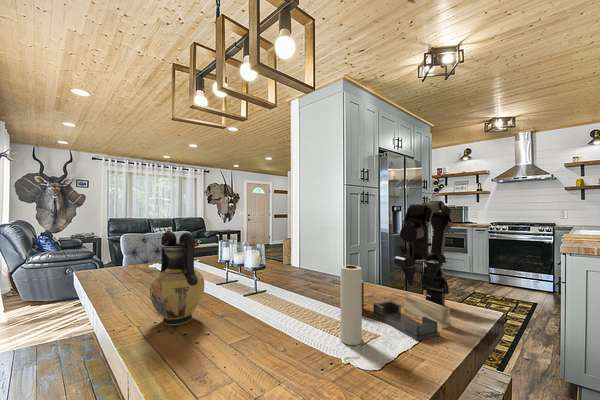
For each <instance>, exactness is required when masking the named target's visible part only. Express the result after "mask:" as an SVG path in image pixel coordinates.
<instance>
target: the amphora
mask: <svg viewBox="0 0 600 400" xmlns="http://www.w3.org/2000/svg"><path fill="white" fill-rule="evenodd" d="M177 241H179V242H177ZM196 246H197V243H196V240H195V237H194V235H193V233H191V232H184V233H182V234H181V235H180V236H179V239H178V240H177V236H176V234H175V233H174V232H173V231H165V232H164V233H163V234H162V236H161V243H160V246H159V247H160V248H161V266H160V267H161V268H160V271H159V273H157V274H156V275H155V276H154V277H153V279H152V281H151V283H150V287H149V297H150V302H151V303H152V304H151V305H152V307H153V308H154V310H155V311H156V313H157V314H159V316H161V317H163V319H162V323H163V324H164V325H166V326H180V325H184V324H187V323H189V322H190V321H191V320H193V315H192V314H193V312H194V311H196V309H197V307H198V306H199V305H200V302H201V300H202V299H203V295H204V292H205V279H204V276H203V275H202V273H201V272H200V271H199V270H197V269H195V249H196Z"/></svg>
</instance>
